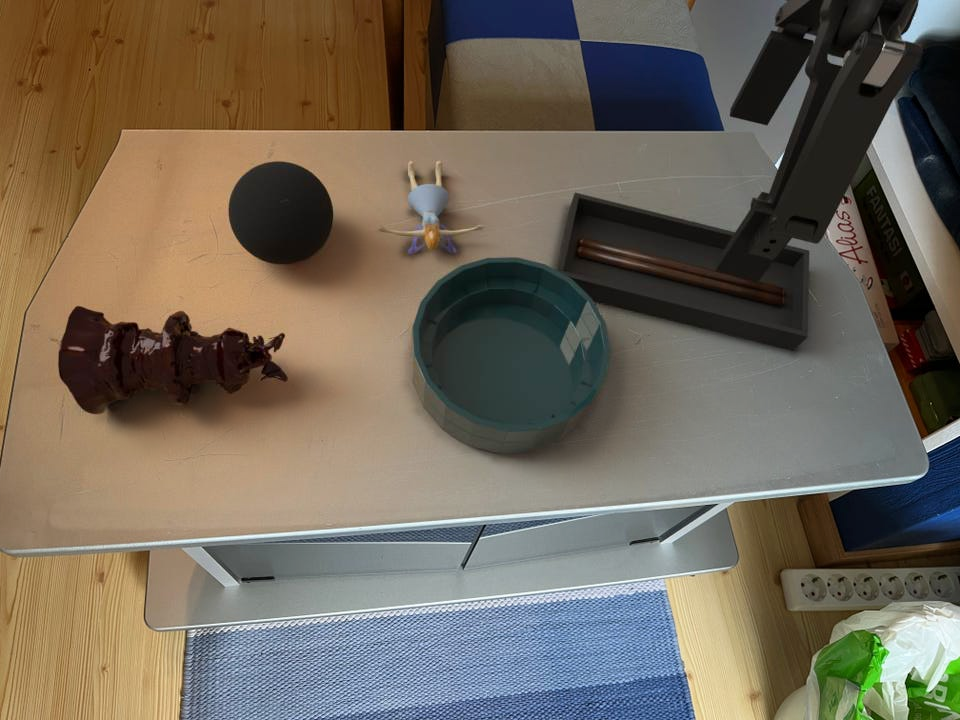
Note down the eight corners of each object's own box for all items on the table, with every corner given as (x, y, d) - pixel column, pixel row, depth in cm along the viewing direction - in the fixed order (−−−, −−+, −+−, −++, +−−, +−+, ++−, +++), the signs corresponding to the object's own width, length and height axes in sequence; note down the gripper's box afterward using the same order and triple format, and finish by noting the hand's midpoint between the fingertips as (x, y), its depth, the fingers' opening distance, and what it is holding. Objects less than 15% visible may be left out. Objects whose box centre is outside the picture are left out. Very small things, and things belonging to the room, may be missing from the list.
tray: (793, 351, 78) (808, 336, 75) (551, 290, 78) (556, 274, 76) (796, 266, 83) (809, 250, 80) (568, 210, 84) (574, 192, 81)
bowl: (578, 476, 69) (593, 453, 64) (389, 427, 69) (388, 401, 64) (606, 315, 78) (621, 283, 72) (438, 272, 78) (441, 238, 73)
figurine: (104, 391, 72) (295, 384, 75) (65, 433, 62) (286, 424, 65) (89, 291, 69) (289, 289, 71) (46, 320, 59) (279, 316, 62)
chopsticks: (783, 292, 81) (788, 286, 80) (783, 309, 80) (787, 304, 79) (577, 240, 81) (579, 234, 80) (573, 257, 80) (575, 251, 79)
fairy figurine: (477, 150, 82) (490, 229, 75) (473, 183, 86) (485, 261, 79) (372, 150, 80) (375, 231, 74) (373, 184, 84) (376, 264, 78)
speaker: (354, 258, 78) (349, 195, 69) (267, 299, 74) (249, 239, 66) (307, 193, 81) (297, 125, 72) (222, 230, 78) (200, 163, 69)
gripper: (862, -309, 36) (703, 51, 55) (877, 14, 24) (668, 333, 43) (1013, -274, 36) (802, 75, 55) (1102, 68, 24) (794, 365, 43)
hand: (742, 189), depth 49 cm, fingers open, 13 cm apart
